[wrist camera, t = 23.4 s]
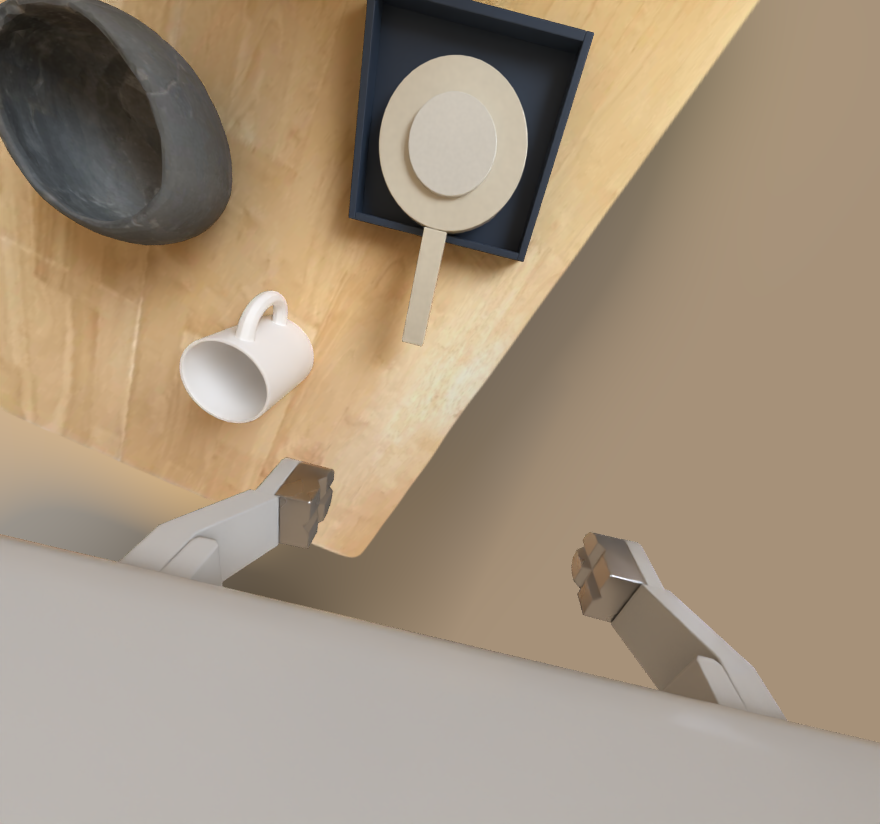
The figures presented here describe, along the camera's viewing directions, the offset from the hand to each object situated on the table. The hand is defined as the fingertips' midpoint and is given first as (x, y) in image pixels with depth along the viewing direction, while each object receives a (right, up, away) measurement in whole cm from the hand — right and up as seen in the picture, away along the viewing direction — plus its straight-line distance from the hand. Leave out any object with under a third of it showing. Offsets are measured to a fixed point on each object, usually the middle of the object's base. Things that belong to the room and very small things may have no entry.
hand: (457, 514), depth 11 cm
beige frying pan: (-1, +20, +20) cm, 28 cm away
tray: (+1, +26, +19) cm, 33 cm away
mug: (-18, +12, +29) cm, 36 cm away
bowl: (-24, +27, +22) cm, 43 cm away
